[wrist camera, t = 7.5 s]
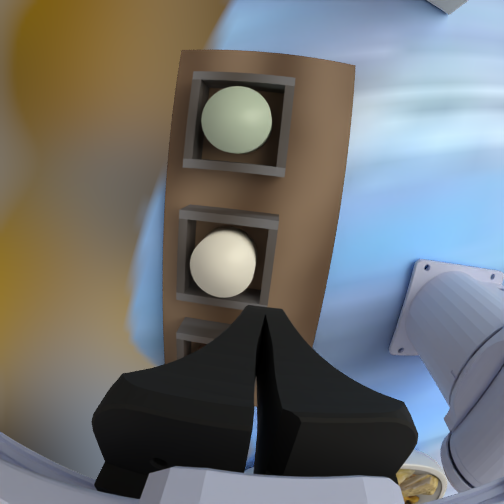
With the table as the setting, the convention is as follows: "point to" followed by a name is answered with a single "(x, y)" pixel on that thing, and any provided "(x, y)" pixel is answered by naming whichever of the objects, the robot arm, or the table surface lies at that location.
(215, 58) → the panel
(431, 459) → the bowl
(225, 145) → the sage button
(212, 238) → the cream button
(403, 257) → the table surface
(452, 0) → the milk carton
